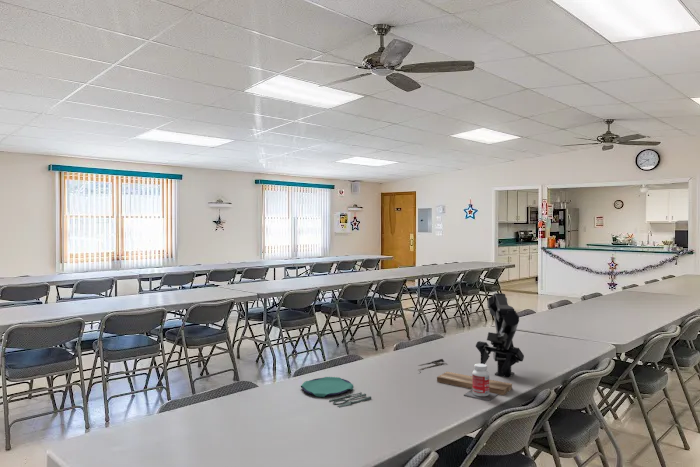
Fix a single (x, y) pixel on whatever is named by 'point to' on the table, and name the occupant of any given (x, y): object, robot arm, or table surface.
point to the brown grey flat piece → (467, 382)
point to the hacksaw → (433, 365)
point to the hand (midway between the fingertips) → (491, 369)
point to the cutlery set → (331, 389)
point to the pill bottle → (480, 380)
